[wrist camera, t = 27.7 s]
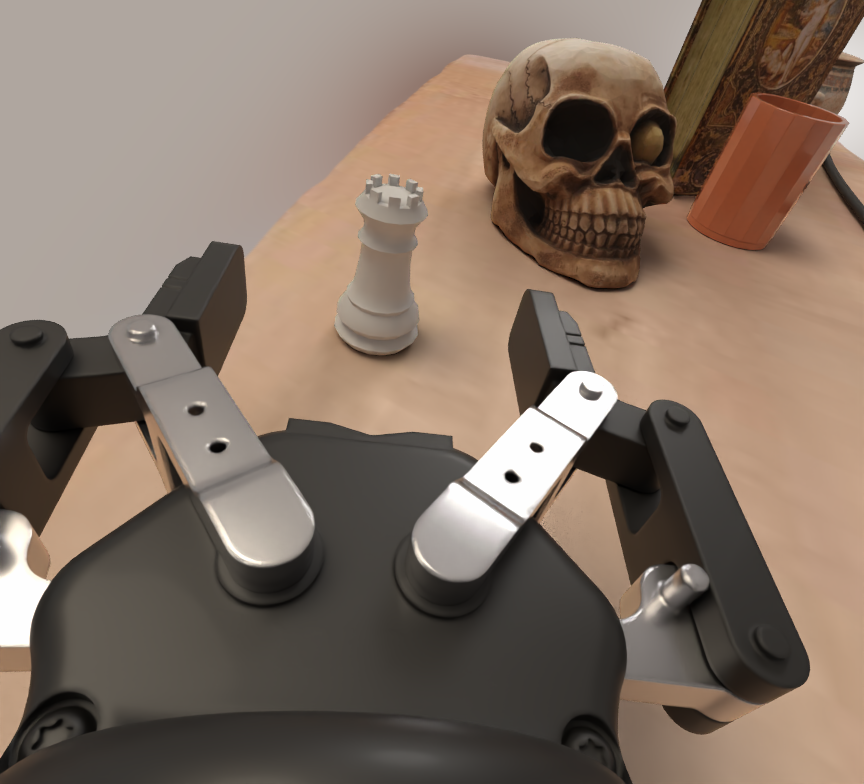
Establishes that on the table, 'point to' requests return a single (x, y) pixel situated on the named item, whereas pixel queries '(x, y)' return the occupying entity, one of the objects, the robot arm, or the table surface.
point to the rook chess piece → (383, 270)
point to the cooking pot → (837, 84)
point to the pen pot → (763, 169)
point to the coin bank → (579, 156)
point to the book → (747, 69)
